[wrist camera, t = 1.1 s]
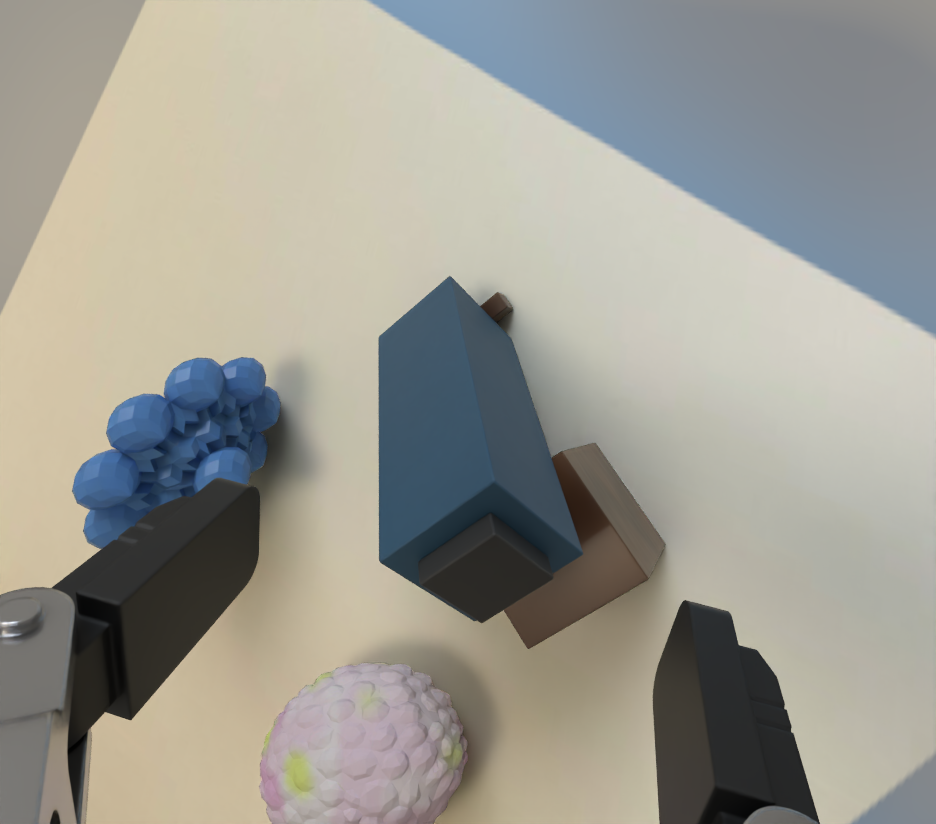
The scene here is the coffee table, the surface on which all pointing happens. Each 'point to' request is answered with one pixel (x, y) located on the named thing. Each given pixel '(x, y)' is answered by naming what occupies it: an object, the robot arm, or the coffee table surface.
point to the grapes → (177, 443)
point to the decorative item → (363, 750)
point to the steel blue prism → (465, 461)
